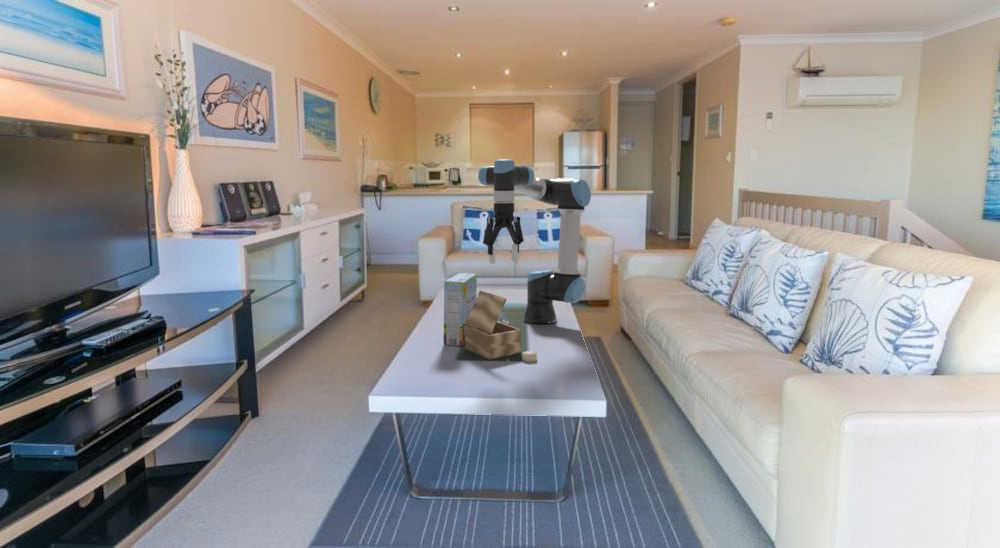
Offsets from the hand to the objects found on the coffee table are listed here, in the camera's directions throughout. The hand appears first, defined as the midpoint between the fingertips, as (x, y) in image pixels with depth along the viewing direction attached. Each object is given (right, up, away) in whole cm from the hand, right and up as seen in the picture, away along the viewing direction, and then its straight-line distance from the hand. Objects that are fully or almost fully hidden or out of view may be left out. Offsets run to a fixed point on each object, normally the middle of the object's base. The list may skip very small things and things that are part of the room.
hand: (503, 262), depth 213 cm
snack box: (-17, -31, +19) cm, 40 cm away
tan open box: (-4, -34, +3) cm, 34 cm away
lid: (-7, -19, -2) cm, 20 cm away
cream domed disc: (+9, -36, -7) cm, 37 cm away
